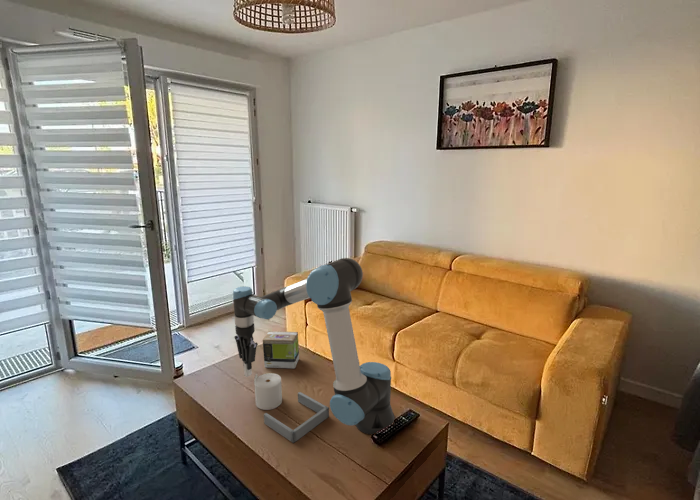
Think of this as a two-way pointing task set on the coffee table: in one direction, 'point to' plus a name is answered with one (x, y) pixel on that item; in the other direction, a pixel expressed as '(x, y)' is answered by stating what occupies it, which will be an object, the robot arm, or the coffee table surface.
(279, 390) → the toilet tissue
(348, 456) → the coffee table surface
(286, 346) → the tea box
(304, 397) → the grey u-shaped bracket
